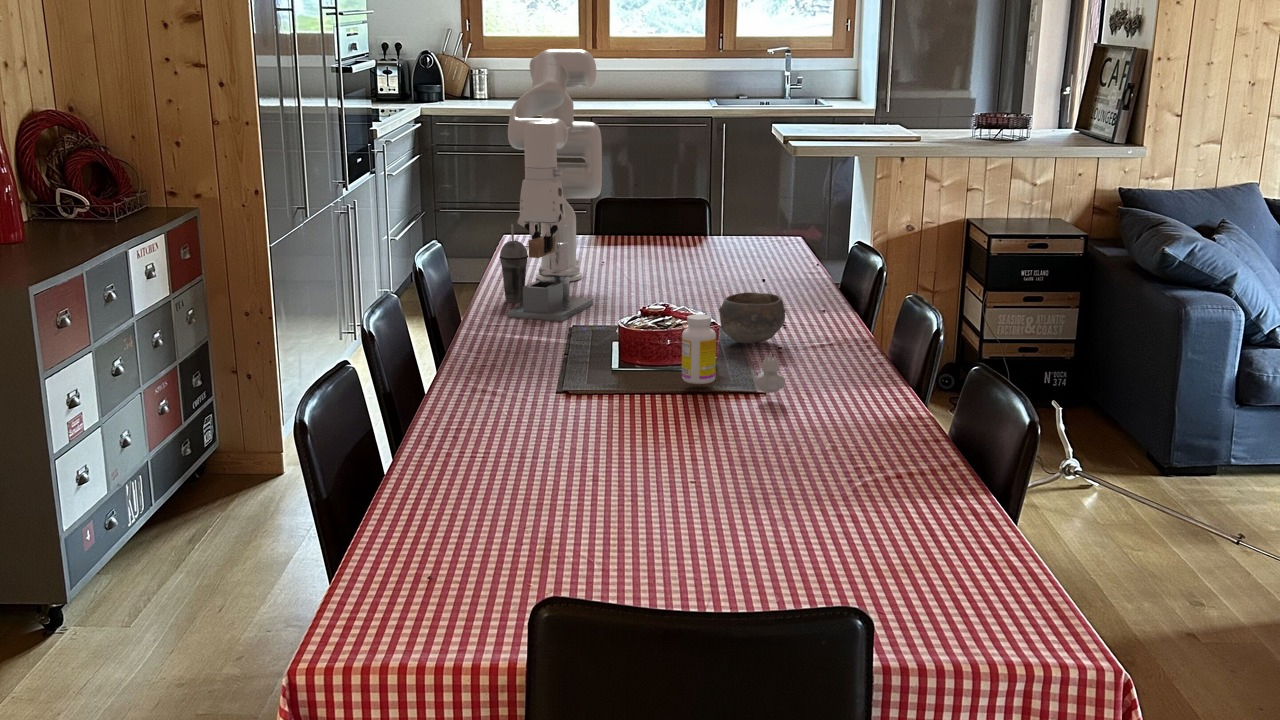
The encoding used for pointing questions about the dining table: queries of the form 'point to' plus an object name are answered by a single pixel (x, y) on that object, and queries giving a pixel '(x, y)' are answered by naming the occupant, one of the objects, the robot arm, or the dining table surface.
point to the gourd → (770, 376)
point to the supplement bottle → (698, 350)
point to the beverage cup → (513, 269)
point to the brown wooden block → (539, 247)
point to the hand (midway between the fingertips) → (542, 251)
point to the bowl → (752, 316)
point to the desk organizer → (552, 291)
